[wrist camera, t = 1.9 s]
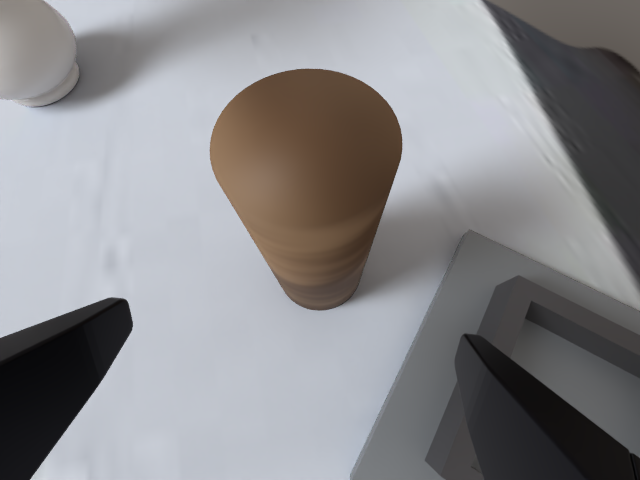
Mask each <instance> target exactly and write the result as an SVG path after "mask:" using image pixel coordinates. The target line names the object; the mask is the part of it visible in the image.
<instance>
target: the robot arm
mask: <svg viewBox="0 0 640 480" xmlns="http://www.w3.org/2000/svg"><path fill="white" fill-rule="evenodd" d="M132 327H133V321H132V317H131V312H130V308H129V304H128V302H127V300H125V299H123V298H112V297H111V298H107V299H104V300H101V301H99V302H96V303H93V304H91V305H88V306H85V307H83V308H80V309H77V310H75V311H72V312H69V313H66V314H64V315H61V316H58V317H56V318H53V319H50V320H48V321H45V322H42V323H39V324H37V325H34V326H31V327H29V328H26V329H23V330H21V331H18V332H15V333H13V334H10V335H7V336H4V337H2V338H0V480H30V479H31V478H32V476H33V475H34V473H35V472H36V471H37V469H38V468H39V467H40V465H41V464H42V462H43V461H44V460H45V458H46V457H47V456H48V454H49V453H50V451H51V450H52V449H53V447H54V446H55V445H56V443H57V442H58V441H59V439H60V438H61V436H62V435H63V434H64V432H65V431H66V430H67V428H68V427H69V425H70V424H71V423H72V421H73V420H74V419H75V417H76V416H77V414H78V413H79V412H80V410H81V409H82V408H83V406H84V405H85V403H86V402H87V401H88V399H89V398H90V397H91V395H92V394H93V393H94V391H95V390H96V388H97V387H98V385H99V384H100V383H101V381H102V379H103V378H104V376H105V375H106V373H107V371H108V370H109V368H110V366H111V365H112V363H113V361H114V360H115V358H116V356H117V355H118V353H119V351H120V350H121V348H122V346H123V345H124V343H125V341H126V340H127V338H128V336H129V335H130V333H131V331H132ZM454 365H455V371H456V376H457V381H458V386H459V390H460V395H461V400H462V405H463V410H464V415H465V419H466V424H467V427H468V431H469V434H470V438H471V441H472V444H473V447H474V450H475V453H476V456H477V460H478V463H479V466H480V469H481V472H482V475H483V478H484V480H640V458H639V457H638V456H637V455H635V454H634V453H630V452H629V450H628V449H627V448H626V447H625V446H623V445H622V444H621V443H620V442H618V441H617V440H616V439H614V438H613V437H612V436H610V435H609V434H608V433H607V432H605V431H604V430H603V429H601V428H600V427H599V426H598V425H596V424H595V423H594V422H592V421H591V420H590V419H588V418H587V417H586V416H585V415H583V414H582V413H581V412H579V411H578V410H577V409H576V408H574V407H573V406H572V405H570V404H569V403H568V402H566V401H565V400H564V399H563V398H561V397H560V396H559V395H557V394H556V393H555V392H553V391H552V390H551V389H550V388H548V387H547V386H546V385H544V384H543V383H542V382H541V381H539V380H538V379H537V378H535V377H534V376H533V375H531V374H530V373H529V372H528V371H526V370H525V369H524V368H522V367H521V366H520V365H519V364H517V363H516V362H515V361H513V360H512V359H511V358H509V357H508V356H507V355H506V354H504V353H503V352H502V351H500V350H499V349H498V348H497V347H495V346H494V345H493V344H491V343H490V342H489V341H487V340H486V339H485V338H484V337H482V336H481V335H478V334H468V333H464V334H463V335H462V336H461V338H460V341H459V345H458V348H457V352H456V355H455V360H454Z"/></svg>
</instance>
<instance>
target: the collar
mask: <svg viewBox="0 0 640 480" xmlns="http://www.w3.org/2000/svg"><path fill="white" fill-rule="evenodd" d="M464 333H468V334H478V335H481V336H482V337H484V338H485V339H486V340H487V341H489V342H490V343H491V344H493V345H494V346H495V347H497V348H498V349H499V350H500V351H502V352H503V353H504V354H506V355H507V356H508V357H509V358H511V359H512V360H513V361H515V362H516V363H517V364H519V365H520V366H521V367H522V368H524V369H525V370H526V371H528V372H529V373H530V374H531V375H533V376H534V377H535V378H537V379H538V380H539V381H541V382H542V383H543V384H544V385H546V386H547V387H548V388H550V389H551V390H552V391H553V392H555V393H556V394H557V395H559V396H560V397H561V398H563V399H564V400H565V401H566V402H568V403H569V404H570V405H572V406H573V407H574V408H576V409H577V410H578V411H579V412H581V413H582V414H583V415H585V416H586V417H587V418H588V419H590V420H591V421H592V422H594V423H595V424H596V425H598V426H599V427H600V428H601V429H603V430H604V431H605V432H607V433H608V434H609V435H610V436H612V437H613V438H614V439H616V440H617V441H618V442H620V443H621V444H622V445H623V446H625V447H626V448H627V449H628V450H629V452H630V453H634V454H635V455H637V456H638V457H639V458H640V311H638V310H636V309H634V308H632V307H630V306H628V305H625V304H623V303H621V302H619V301H617V300H615V299H613V298H611V297H609V296H607V295H605V294H603V293H601V292H598V291H596V290H594V289H592V288H590V287H588V286H586V285H584V284H582V283H580V282H578V281H576V280H574V279H571V278H569V277H567V276H565V275H563V274H561V273H559V272H557V271H555V270H553V269H551V268H549V267H547V266H544V265H542V264H540V263H538V262H536V261H534V260H532V259H530V258H528V257H526V256H524V255H522V254H520V253H517V252H515V251H513V250H511V249H509V248H507V247H505V246H503V245H501V244H499V243H497V242H495V241H493V240H490V239H488V238H486V237H484V236H482V235H480V234H478V233H476V232H474V231H472V230H470V229H469V230H468V231H467V232H466V233H465V234H464V235H463V238H462V240H461V242H460V244H459V246H458V248H457V250H456V252H455V254H454V257H453V259H452V261H451V263H450V265H449V267H448V269H447V271H446V274H445V276H444V278H443V280H442V282H441V284H440V286H439V288H438V290H437V293H436V295H435V297H434V299H433V301H432V303H431V305H430V307H429V309H428V312H427V314H426V316H425V318H424V320H423V322H422V324H421V326H420V328H419V331H418V333H417V335H416V337H415V339H414V341H413V343H412V345H411V347H410V350H409V352H408V354H407V356H406V358H405V360H404V362H403V364H402V367H401V369H400V371H399V373H398V375H397V377H396V379H395V381H394V383H393V386H392V388H391V390H390V392H389V394H388V396H387V398H386V400H385V402H384V405H383V407H382V409H381V411H380V413H379V415H378V417H377V419H376V421H375V424H374V426H373V428H372V430H371V432H370V434H369V436H368V438H367V440H366V443H365V445H364V447H363V449H362V451H361V453H360V455H359V457H358V460H357V462H356V464H355V466H354V468H353V470H352V472H351V474H350V480H484V478H483V475H482V472H481V469H480V466H479V463H478V460H477V456H476V453H475V450H474V447H473V444H472V441H471V438H470V434H469V431H468V427H467V424H466V419H465V415H464V410H463V405H462V400H461V395H460V390H459V386H458V381H457V376H456V371H455V365H454V360H455V355H456V352H457V348H458V345H459V341H460V338H461V336H462V335H463V334H464Z"/></svg>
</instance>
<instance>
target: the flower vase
mask: <svg viewBox="0 0 640 480" xmlns="http://www.w3.org/2000/svg"><path fill="white" fill-rule="evenodd" d="M75 59H76V38H75V35H74V33H73V30H72V28H71V26H70V24H69V23H68V21H67V20H66V19H65V18H64V17H63V16H62V15H61V14H60V13H59V12H58V11H57V10H55V9H54V8H53V7H52V6H51V5H49V4H48V3H47V2H46V1H44V0H0V99H3V100H12V101H14V102H16V103H18V104H20V105H23V106H29V107H37V106H44V105H48V104H51V103H53V102H55V101H58V100H60V99H61V98H63V97H64V96H66V95H67V94H68V93H69V92H70V91H71V90H72V89H73V88H74V86H75V85H76V83H77V81H78V78H79V67H78V65H77V63H76V61H75Z"/></svg>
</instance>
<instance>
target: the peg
mask: <svg viewBox="0 0 640 480" xmlns="http://www.w3.org/2000/svg"><path fill="white" fill-rule="evenodd" d="M401 154H402V134H401V129H400V126H399V123H398V120H397V117H396V116H395V114H394V112H393V110H392V108H391V107H390V106H389V104H388V103H387V101H386V100H385V99H384V98H383V97H382V96H381V95H380V94H379V93H378V92H376V91H375V90H374V89H373V88H371V87H370V86H368V85H367V84H365V83H364V82H362V81H360V80H358V79H356V78H354V77H351V76H348V75H346V74H343V73H339V72H335V71H330V70H323V69H296V70H290V71H285V72H281V73H277V74H274V75H271V76H268V77H265V78H263V79H261V80H259V81H257V82H255V83H253V84H252V85H250V86H248V87H247V88H245V89H244V90H243V91H241V92H240V93H239V94H238V95H236V96H235V97H234V98H233V99H232V100H231V101H230V102H229V103H228V105H227V106H226V107H225V109H224V110H223V111H222V113H221V114H220V116H219V118H218V120H217V122H216V124H215V126H214V129H213V132H212V136H211V142H210V160H211V165H212V169H213V172H214V174H215V177H216V179H217V181H218V183H219V184H220V186H221V188H222V189H223V191H224V193H225V194H226V196H227V198H228V199H229V201H230V203H231V204H232V206H233V208H234V209H235V211H236V212H237V214H238V216H239V217H240V219H241V221H242V222H243V224H244V226H245V227H246V229H247V231H248V232H249V234H250V236H251V237H252V239H253V240H254V242H255V244H256V245H257V247H258V249H259V250H260V252H261V254H262V255H263V257H264V259H265V260H266V262H267V264H268V265H269V267H270V268H271V270H272V272H273V273H274V275H275V277H276V278H277V280H278V282H279V283H280V285H281V287H282V288H283V290H284V291H285V293H286V294H287V296H288V297H289V298H290V299H291V300H292V301H293V302H295V303H296V304H298V305H300V306H302V307H304V308H307V309H311V310H328V309H332V308H335V307H337V306H339V305H341V304H343V303H344V302H346V301H347V300H348V299H349V298H350V297H351V296H352V295H353V293H354V292H355V290H356V288H357V286H358V284H359V281H360V278H361V275H362V272H363V269H364V266H365V263H366V261H367V258H368V255H369V252H370V249H371V246H372V243H373V240H374V237H375V234H376V231H377V228H378V225H379V222H380V219H381V216H382V213H383V210H384V208H385V205H386V202H387V199H388V196H389V193H390V190H391V187H392V184H393V181H394V178H395V175H396V172H397V169H398V166H399V163H400V160H401Z"/></svg>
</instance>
